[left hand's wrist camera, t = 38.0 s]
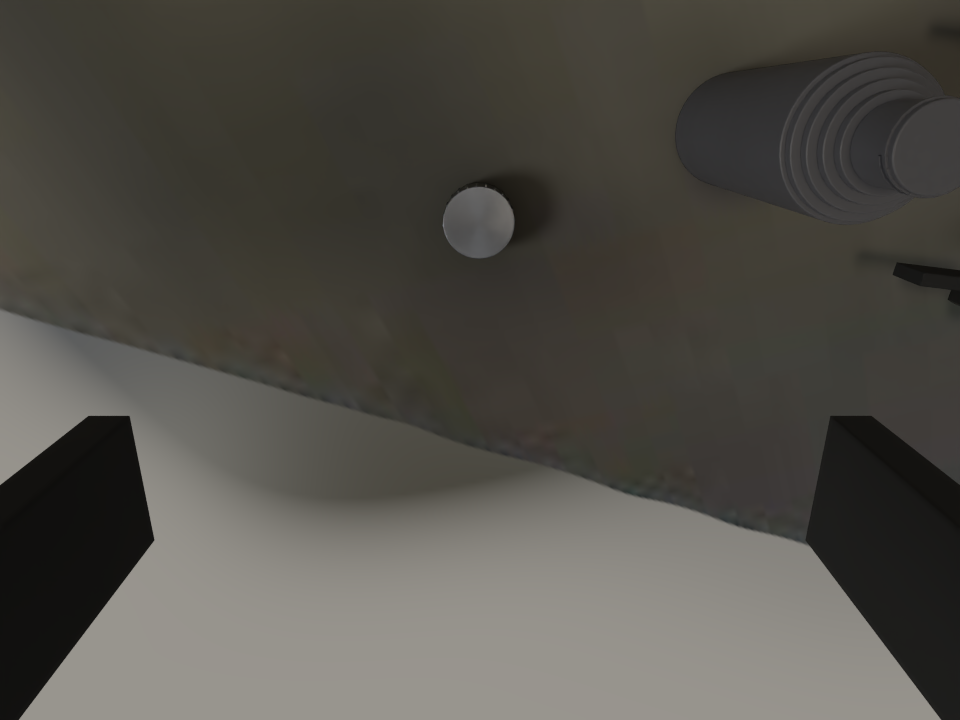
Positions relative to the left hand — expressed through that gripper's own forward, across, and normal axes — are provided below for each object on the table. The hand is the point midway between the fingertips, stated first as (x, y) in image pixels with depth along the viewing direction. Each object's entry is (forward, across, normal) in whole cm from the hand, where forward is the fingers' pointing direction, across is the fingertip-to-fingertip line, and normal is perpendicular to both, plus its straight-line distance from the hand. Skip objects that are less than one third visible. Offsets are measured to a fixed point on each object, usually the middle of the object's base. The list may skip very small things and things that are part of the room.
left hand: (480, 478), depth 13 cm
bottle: (+34, +16, +5) cm, 37 cm away
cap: (+31, 0, 0) cm, 32 cm away
